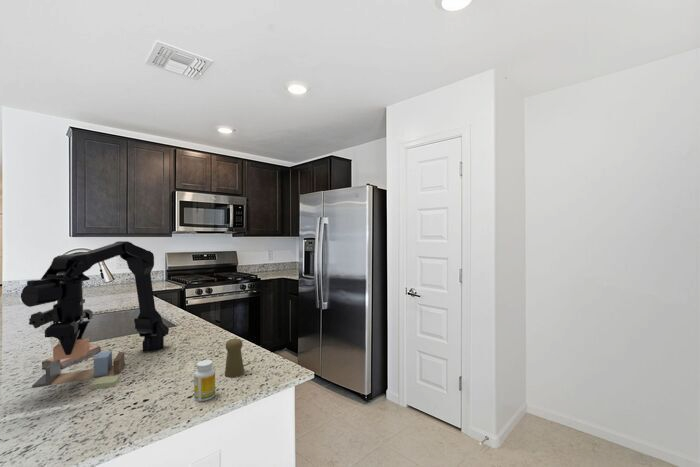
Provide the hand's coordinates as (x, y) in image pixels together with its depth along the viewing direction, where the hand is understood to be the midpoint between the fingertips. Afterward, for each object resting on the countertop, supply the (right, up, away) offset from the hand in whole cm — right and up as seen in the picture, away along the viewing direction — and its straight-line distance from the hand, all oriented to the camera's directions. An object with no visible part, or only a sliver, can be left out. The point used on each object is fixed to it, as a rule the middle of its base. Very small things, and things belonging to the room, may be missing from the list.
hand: (71, 351), depth 95 cm
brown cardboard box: (0, -1, 0) cm, 1 cm away
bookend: (-11, -10, +4) cm, 16 cm away
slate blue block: (+2, -10, +10) cm, 14 cm away
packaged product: (-17, -12, +20) cm, 28 cm away
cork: (+44, -11, +11) cm, 47 cm away
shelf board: (-4, -12, +8) cm, 14 cm away
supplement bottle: (+41, -12, -4) cm, 43 cm away
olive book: (+9, -12, +1) cm, 15 cm away
